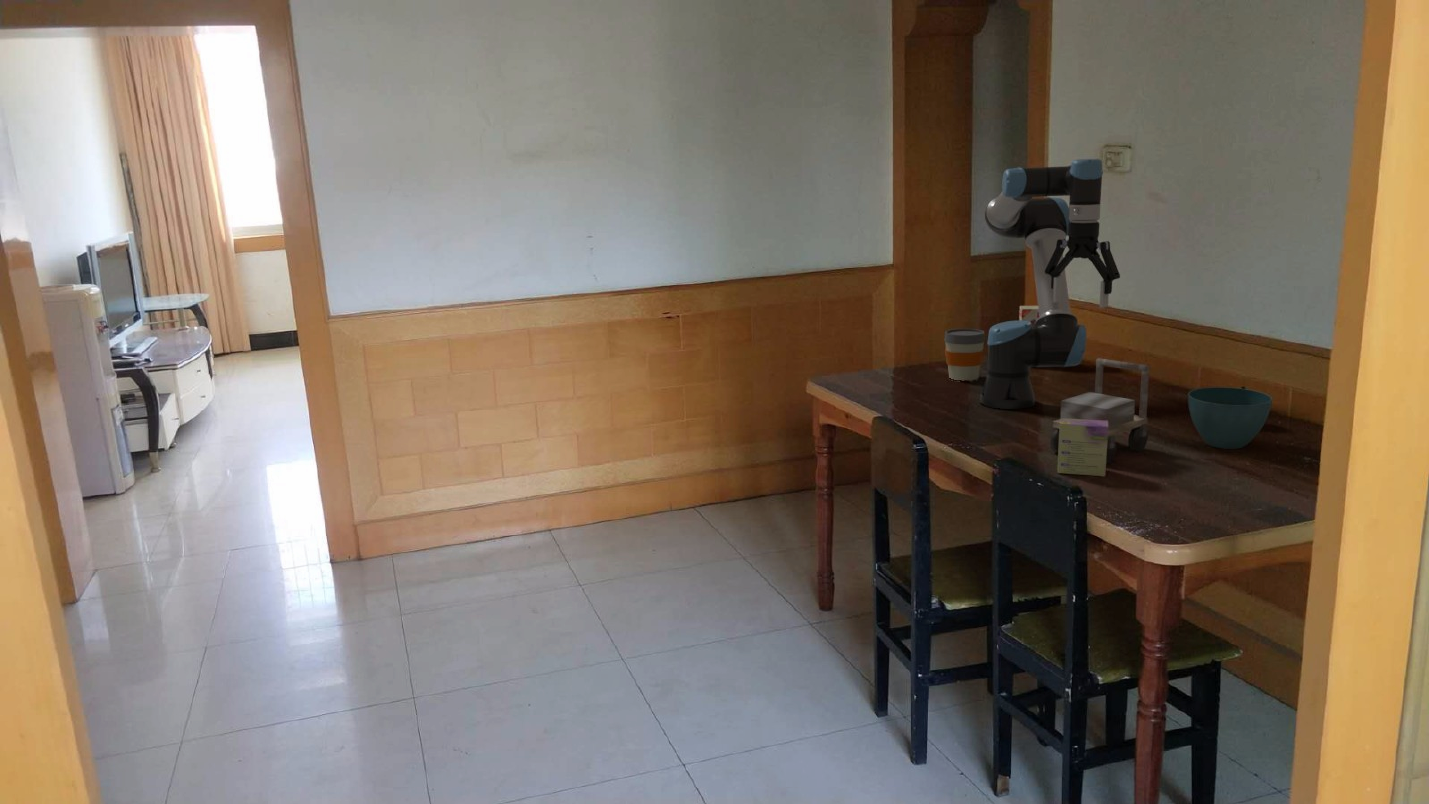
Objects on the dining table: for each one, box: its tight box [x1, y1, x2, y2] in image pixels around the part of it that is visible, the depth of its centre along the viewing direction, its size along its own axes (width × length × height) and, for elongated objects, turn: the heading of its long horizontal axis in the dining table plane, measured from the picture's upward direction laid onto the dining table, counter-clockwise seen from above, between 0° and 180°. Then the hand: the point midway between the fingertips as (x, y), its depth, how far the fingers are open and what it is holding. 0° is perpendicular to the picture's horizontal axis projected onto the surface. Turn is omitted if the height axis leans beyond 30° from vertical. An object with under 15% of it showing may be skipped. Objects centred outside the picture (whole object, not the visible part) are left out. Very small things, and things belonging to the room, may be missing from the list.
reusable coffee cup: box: [943, 328, 986, 381], centre depth 333 cm, size 13×12×15 cm
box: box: [1057, 418, 1108, 478], centre depth 239 cm, size 10×6×12 cm, turn 71°
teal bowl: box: [1187, 386, 1273, 450], centre depth 255 cm, size 18×18×12 cm
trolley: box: [1049, 357, 1151, 465], centre depth 252 cm, size 15×20×21 cm
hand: (1079, 304), depth 273 cm, fingers open, 13 cm apart
